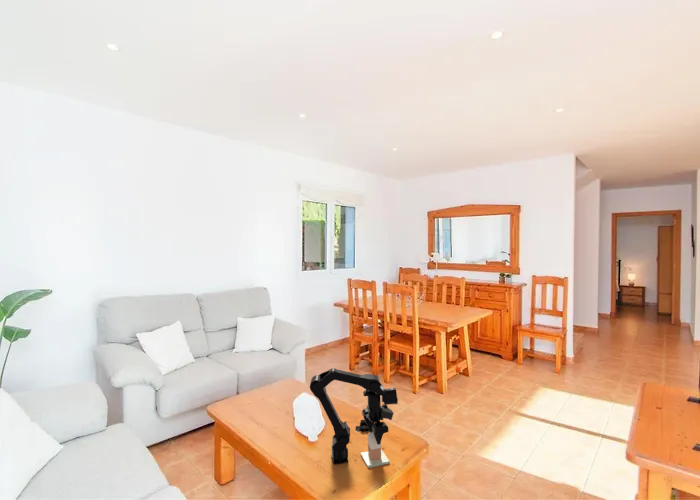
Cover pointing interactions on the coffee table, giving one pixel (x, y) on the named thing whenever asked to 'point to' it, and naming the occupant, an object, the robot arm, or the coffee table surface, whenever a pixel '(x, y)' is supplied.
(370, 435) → the cream brick
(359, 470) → the coffee table surface
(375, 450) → the terracotta brick
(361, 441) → the coffee table surface
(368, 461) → the plate
